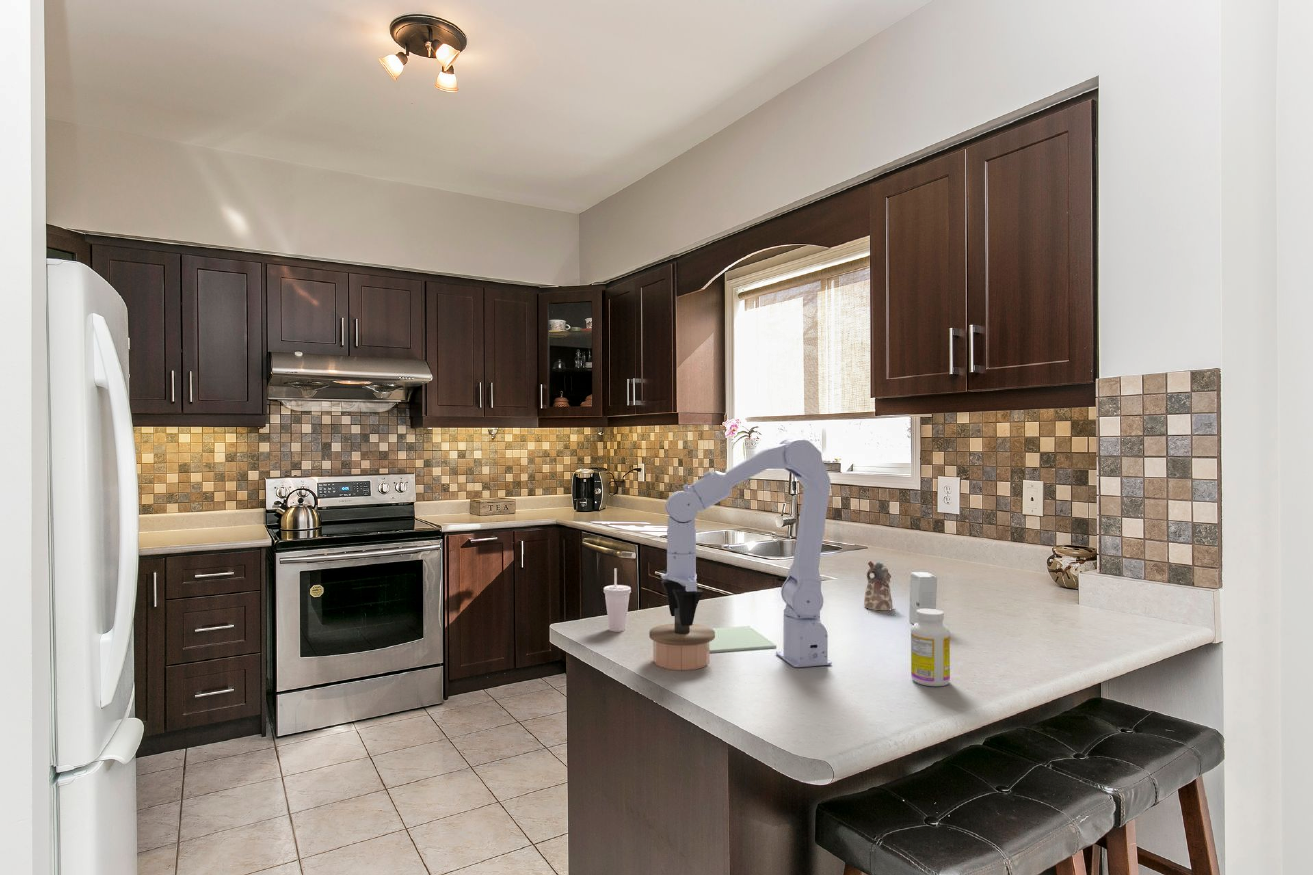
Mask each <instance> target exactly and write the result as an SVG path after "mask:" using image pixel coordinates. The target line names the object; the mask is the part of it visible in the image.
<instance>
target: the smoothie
mask: <svg viewBox="0 0 1313 875" xmlns="http://www.w3.org/2000/svg"><path fill="white" fill-rule="evenodd" d="M613 572H614V575H613V576H614V578H613V579H614V580H613V581H614V583H613V584H611V585H607V586H604V587H603V593H604V596H605V597H604V598H605V606H606V613H607V614H606V615H607V623H608V630H609V632H614V633H615V632H616V633H617V632H618V633H620V632H624V631H626V627H627V618H628V610H629V609H628V608H629V601H630V593H632V588H631V586H629V585H624V584H617V583H618V575H617V572H618V568H614V570H613Z"/></svg>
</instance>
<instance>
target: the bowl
mask: <svg viewBox="0 0 1313 875" xmlns="http://www.w3.org/2000/svg"><path fill="white" fill-rule="evenodd" d="M652 646H653V648H652V654H653V655H652V661H653V663H654V662H655V663H654V664H655V666H657V665H658V666H657V667H661V668H663V667H664V668H663V669H666V670H674V671H689V670H691V669H692V670H698V669H701V668H704V667H707V665H708V664H709V663H710V653H709V642H708V643H704V644H699V645H687V646H680V645H668V644H662V643H659V642H656V641H653V640H652Z"/></svg>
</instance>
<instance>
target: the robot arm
mask: <svg viewBox="0 0 1313 875" xmlns="http://www.w3.org/2000/svg"><path fill="white" fill-rule="evenodd" d="M768 469H769V470H781V469H782V470H786V471H787V472H789V473H790V474H792V475H793V476H794V478H795V479H796V480H797V481H798V482H799V483H800V485H801V486H802V487H803V490H802V498H801V504H800V510H799V511H800V512H799V519H798V526H797V532H796V541H795V546H794V553H793V561H792V565H791V566H790V567H789V569H788V571H787V577H786V580H785V581H784V582H783V583H782V586H781V589H780V595H781V599H782V601H783V602H784V603H785V607H784V609H783V634H782V635H783V644H782V646H783V647H782V648H783V650H776V651H775V654H776V655H777V656H778V657H780V658H781V659H783V660H784V661H785V662H787V663H788V664H789V665H791V666H792V667H794V668H804V667H805V668H807V667H815V666H817V667H818V666H829V665H832V664H833V662H832V661H831V660H829V659H828V652H829V651H828V646H829V644H828V636H829V635H828V631H827V629H826V627H825V626H824V624H822V621H821V611H822V609H823V606H824V595H823V594H822V578H821V574H820V573H821V572H820V569H819V567H820V563H821V562H820V561H821V553H822V548H823V541H824V534H825V527H826V526H825V525H826V519H827V514H828V513H827V511H828V506H829V498H830V491H831V478H830V476H829V473H828V470H827V468H826V466H825V463H824V461H823V455H822V452H821V451H820V450H819V449H818V447H816V446H815V445H814V444H813V443H812V442H811V441H810V440H807V439H801V438H800V439H793V438H789V439H788V438H787V439H784V440H782V441H781V442H779V443H775V444H772V445H770V446H768V447H766V448H764V449H762V450H760V451H758V452H757V453H755V454H753V455H752V456H750V457H749V458H747V459H746V460H744V461H742V462H740V463H738V464H737V465H735V466H734V467H732V468H730V469H729V470H727V471H725V472H720V471H717V470H715V471H713V472H711V471H708V470H707V471H706V472H704V473H703V474H702V475H703V477H701V478H700V479H697V480H696V481H695V482H692V483H691V484H690V485H688V484H687V483H686V484H685V485H682V488H683V489H684V490H676V491H675V492H673V493H671V494H670V495H669V496H668V498H667V500H666V503H665V505H664V507H665V508H664V509H665V511H666V513H667V515H668V518H667V528H666V529H667V530H666V564H667V565H666V573H661V574H660V578H661V579H662V580H661V581H660V582H661V585H662V587H663V589H664V592H665V594H666V598H667V603H668V604H667V605H668V610H669V613H670V616H671V617H675V608H678V609H679V617H680V623H681V625H682V626H691V625H692V624H694V620H695V619H694V618H695V615H696V611H697V608H698V607H697V606H698V605H699V602H700V600H701V598H702V596H703V593H704V590H702V589H698V586H697V584H698V581H697V579H698V577H697V576H698V575H697V573H696V572H697V570H696V569H697V566H696V565H697V564H696V563H697V561H696V560H697V532H696V531H697V530H696V517H697V516H698V513H699V511H700V512H703V511H705V510H706V509H708V508H710V507H712V506H714V505H716V504H717V503H720V502H721V501H723V500H725V499H726V498H729V497H730V495H731V492H732V489H733V487H735V486H737V485H739V484H741V483H743V482H745V481H747V480H748V479H750V478H753V477H754V476H756V475H758V474H760V473H763V472H764V471H767V470H768Z"/></svg>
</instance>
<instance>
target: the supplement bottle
mask: <svg viewBox="0 0 1313 875" xmlns="http://www.w3.org/2000/svg"><path fill="white" fill-rule="evenodd" d="M944 614H945V613H944V611H943V610H939V609H937V608H936V609H918V610H917V611H916V617H917V619H918V622H917V623H915V624H914V625H913V624H912V626H911V627H910V662H911V663H910V671H911V672H910V673H911V674H910V676H911V679H912V681H913V682H915V683H916V684H919V685H922V686H925V687H943V686H946V685H948V684H949V683H950V681H951V680H950V679H951V678H950V677H951V676H950V675H951V667H950V666H951V660H950V659H951V658H950V657H951V652H950V650H951V649H950V645H951V643H950V641H951V640H950V638H951V633H950V630H949V629H950V628H949V627H947V625H944V623H943V622H944V619H945V615H944Z"/></svg>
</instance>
